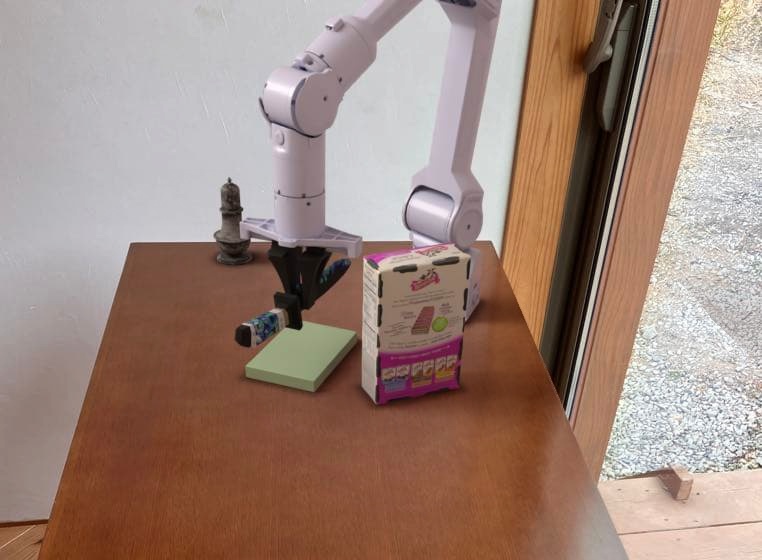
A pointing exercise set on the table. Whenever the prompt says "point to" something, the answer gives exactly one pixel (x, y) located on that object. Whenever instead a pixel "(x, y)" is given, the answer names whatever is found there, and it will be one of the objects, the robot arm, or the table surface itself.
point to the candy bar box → (413, 321)
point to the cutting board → (302, 356)
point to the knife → (286, 309)
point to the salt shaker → (231, 228)
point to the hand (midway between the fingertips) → (301, 305)
